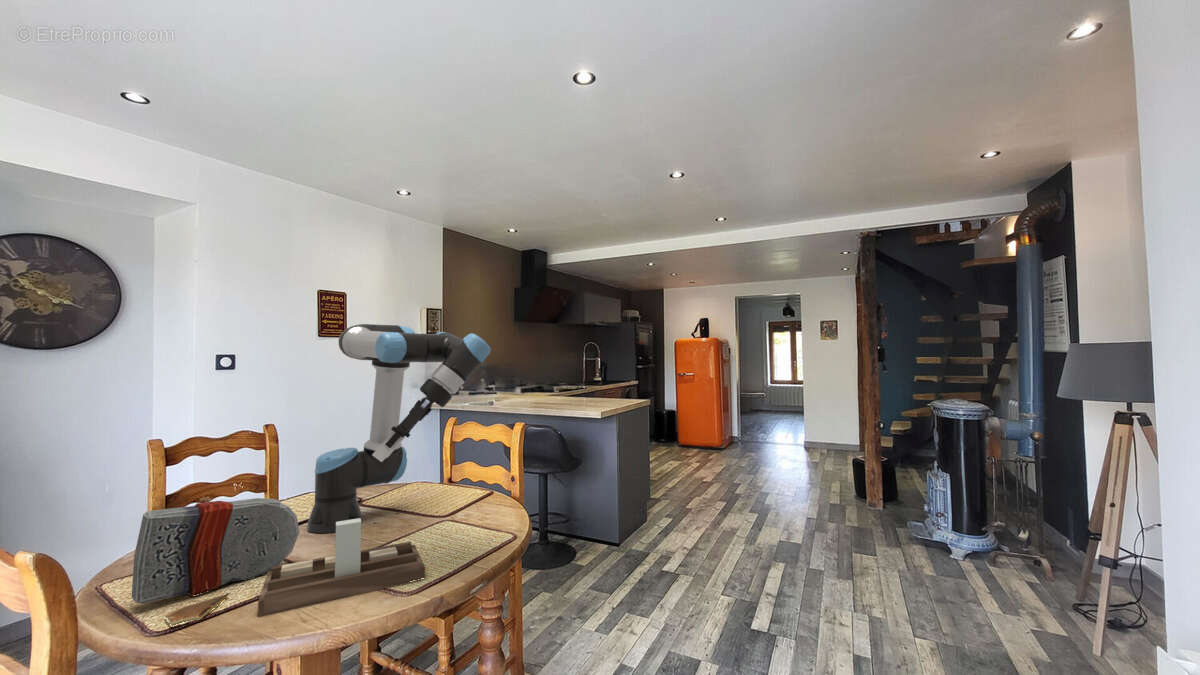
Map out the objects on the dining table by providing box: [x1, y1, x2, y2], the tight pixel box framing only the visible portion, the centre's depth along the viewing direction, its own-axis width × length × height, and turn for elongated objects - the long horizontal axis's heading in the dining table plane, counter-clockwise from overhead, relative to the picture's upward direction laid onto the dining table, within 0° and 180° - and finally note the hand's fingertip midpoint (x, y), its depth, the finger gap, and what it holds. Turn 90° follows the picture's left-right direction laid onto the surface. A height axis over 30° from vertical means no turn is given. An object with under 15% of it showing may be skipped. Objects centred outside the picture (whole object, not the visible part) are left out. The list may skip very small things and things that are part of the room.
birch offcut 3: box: [369, 547, 397, 561], centre depth 116 cm, size 4×6×4 cm, turn 120°
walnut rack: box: [257, 541, 426, 617], centre depth 110 cm, size 16×32×4 cm, turn 120°
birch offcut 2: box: [325, 555, 335, 570], centre depth 112 cm, size 4×7×5 cm, turn 120°
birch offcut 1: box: [280, 559, 313, 578], centre depth 107 cm, size 4×6×5 cm, turn 120°
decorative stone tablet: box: [130, 497, 300, 605], centre depth 110 cm, size 19×6×30 cm
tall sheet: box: [334, 518, 362, 578], centre depth 107 cm, size 3×5×15 cm, turn 120°
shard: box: [164, 592, 231, 626], centre depth 97 cm, size 11×8×2 cm
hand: (379, 456), depth 111 cm, fingers open, 13 cm apart
